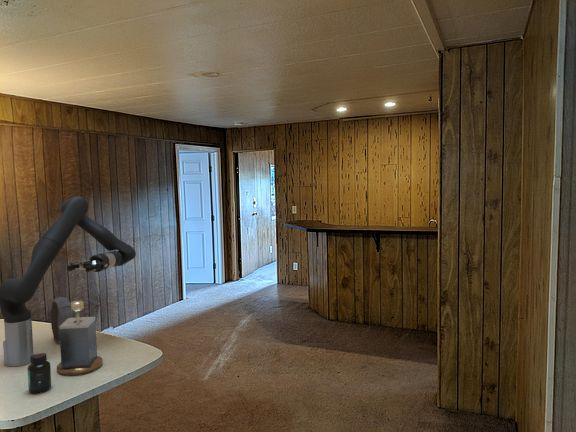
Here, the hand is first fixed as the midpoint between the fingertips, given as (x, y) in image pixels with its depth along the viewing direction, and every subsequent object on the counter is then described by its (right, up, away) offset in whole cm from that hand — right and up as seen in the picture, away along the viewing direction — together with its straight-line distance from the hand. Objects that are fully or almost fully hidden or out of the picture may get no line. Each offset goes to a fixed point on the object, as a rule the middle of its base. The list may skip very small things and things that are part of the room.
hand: (77, 269), depth 178 cm
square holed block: (+5, -37, -9) cm, 38 cm away
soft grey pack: (-15, -35, +20) cm, 42 cm away
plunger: (+5, -34, -9) cm, 35 cm away
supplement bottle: (0, -39, -27) cm, 47 cm away
